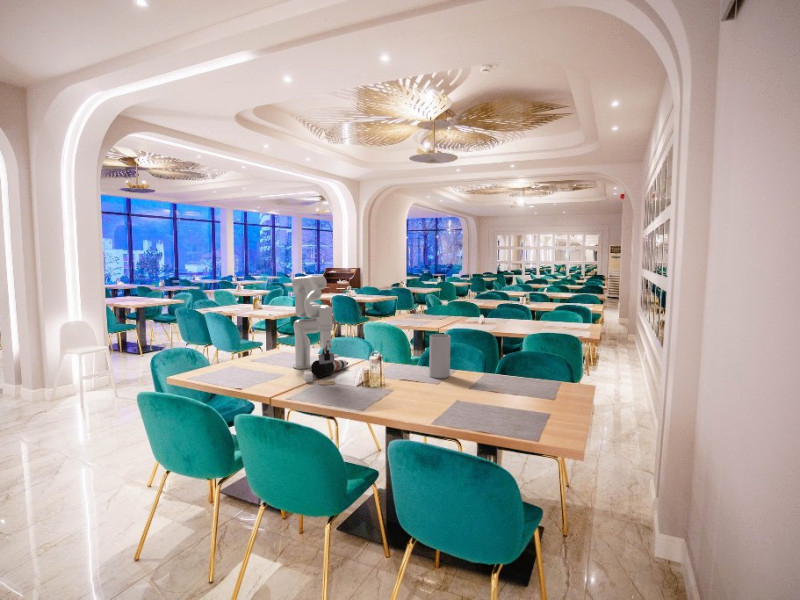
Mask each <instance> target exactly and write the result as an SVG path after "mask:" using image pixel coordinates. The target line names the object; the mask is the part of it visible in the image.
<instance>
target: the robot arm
mask: <svg viewBox="0 0 800 600" xmlns="http://www.w3.org/2000/svg"><path fill="white" fill-rule="evenodd" d="M291 283H292V285H291V286H292V290H293V294H294V296H295V297H294V301H295V304H294V305H295V307H294V308H295V315H296V317H298V318H299V319H296V320H295V321H294V322H293V325H292V326H293V331H294V347H295V348H294V349H295V350H294V353H295V356H294V357H295V358H294V360H295V364H293V365H292V368H293V369H297V370H303V369H304V370H305V369H307V370H308V369H311V366H312V364H313V363H311V340H310V338H309V336H307V335H308V334H316V333H319V346H320V348H322V353H321V354H324V353H325V354H324V360H325V361H328V360H330V352H331V348H332V331H333V329H334V327H333V307H332V306H330V305H328V304H319V303H318V302H316V301H317V300H319V299H320V298H321V297H322V290H324V289H325V288H326V287H327V279H326V277H325V276H324V275H307V276H297V277H294V278H293V279H292V282H291ZM300 318H301V319H300Z"/></svg>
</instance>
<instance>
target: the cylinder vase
mask: <svg viewBox="0 0 800 600" xmlns="http://www.w3.org/2000/svg"><path fill="white" fill-rule="evenodd" d="M428 357H429V359H428V360H429V365H428V368H429V369H428V371H429V372H428V374H429V377H430V376H431V377H430V378H433V379H447V377H448V378H450V375H451V372H450V371H451V335H449V334H445V333H444V334H442V333H434V334H430V335H429V355H428Z"/></svg>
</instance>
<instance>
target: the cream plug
mask: <svg viewBox="0 0 800 600" xmlns="http://www.w3.org/2000/svg"><path fill="white" fill-rule="evenodd" d="M313 376H314V375H313V373H312V371H311V370H309V369H307V370H303V381H304V382H305V383H312V382H314V380H313V379H314V377H313Z"/></svg>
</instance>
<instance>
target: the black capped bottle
mask: <svg viewBox="0 0 800 600" xmlns="http://www.w3.org/2000/svg"><path fill="white" fill-rule="evenodd" d="M334 360H335V362H330V363H326V364H319V359H318V360H315V361H313V362H312V363H311V364H312V366H311V368H310V371H311V372H312V373H313V376H314V377H316V378H322V377H325V376H326V377H327V376H330V375H332V374H333V373H334V372H337V371H340V370H343V369H345V368H347V366H348V365H349V362H348V361H347V360H345V359H334Z"/></svg>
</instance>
